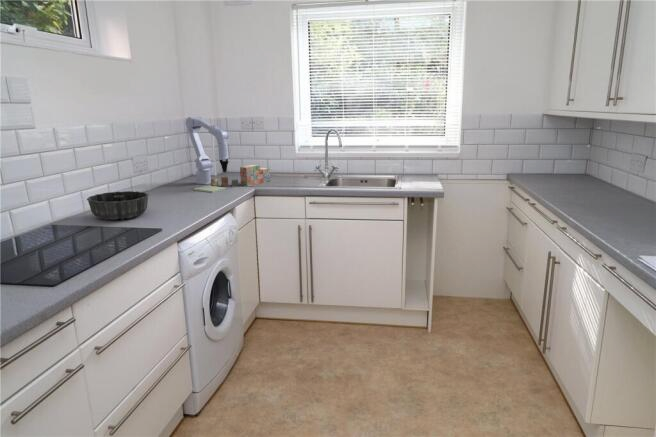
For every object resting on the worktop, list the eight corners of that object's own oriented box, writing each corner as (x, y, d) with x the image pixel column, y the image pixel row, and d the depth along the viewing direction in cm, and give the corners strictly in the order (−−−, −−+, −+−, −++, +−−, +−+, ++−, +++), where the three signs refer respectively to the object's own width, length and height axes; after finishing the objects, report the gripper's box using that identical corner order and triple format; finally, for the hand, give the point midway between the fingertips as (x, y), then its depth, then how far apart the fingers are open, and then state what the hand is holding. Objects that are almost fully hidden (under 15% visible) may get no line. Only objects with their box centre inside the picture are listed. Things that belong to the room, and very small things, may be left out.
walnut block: (221, 185, 286) (221, 176, 284) (227, 185, 287) (227, 176, 285) (221, 186, 282) (221, 177, 280) (228, 186, 283) (227, 177, 281)
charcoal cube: (232, 186, 284) (231, 180, 283) (231, 185, 287) (231, 179, 286) (238, 186, 285) (238, 180, 284) (237, 185, 288) (237, 179, 287)
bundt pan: (134, 207, 226) (131, 188, 224) (161, 215, 210) (159, 195, 208) (80, 217, 207) (77, 196, 204) (105, 226, 190) (102, 204, 188)
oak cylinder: (209, 186, 282) (209, 179, 280) (214, 185, 285) (214, 178, 284) (214, 187, 280) (214, 179, 278) (219, 186, 283) (219, 178, 282)
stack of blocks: (263, 180, 306) (262, 163, 303) (269, 181, 302) (269, 163, 299) (240, 184, 289) (239, 166, 286) (247, 186, 286) (246, 167, 283)
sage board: (193, 190, 271) (193, 188, 271) (207, 186, 281) (206, 185, 281) (212, 192, 263) (212, 190, 263) (226, 189, 274) (225, 187, 273)
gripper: (229, 150, 272) (231, 172, 276) (228, 148, 286) (230, 169, 289) (218, 151, 271) (220, 172, 274) (217, 149, 284) (219, 170, 287)
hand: (224, 171), depth 281 cm, fingers open, 7 cm apart
